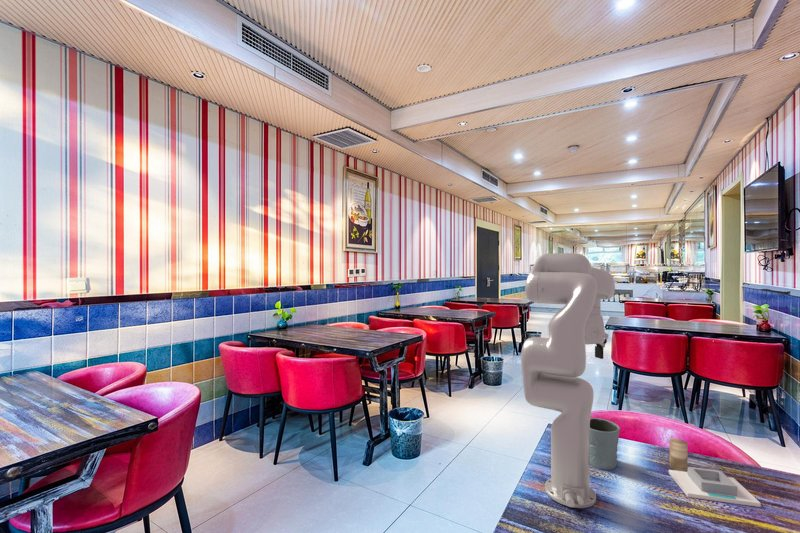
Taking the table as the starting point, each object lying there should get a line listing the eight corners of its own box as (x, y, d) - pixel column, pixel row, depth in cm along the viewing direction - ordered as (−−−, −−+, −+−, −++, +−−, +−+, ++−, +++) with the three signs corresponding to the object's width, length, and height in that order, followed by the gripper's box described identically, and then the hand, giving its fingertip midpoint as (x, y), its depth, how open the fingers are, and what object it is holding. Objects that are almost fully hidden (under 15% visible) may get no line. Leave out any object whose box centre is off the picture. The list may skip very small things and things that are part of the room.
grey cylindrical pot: (612, 456, 122) (612, 419, 122) (625, 473, 112) (625, 432, 112) (578, 453, 124) (578, 416, 124) (588, 469, 114) (588, 430, 114)
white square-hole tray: (760, 507, 96) (760, 493, 96) (687, 496, 100) (687, 483, 100) (733, 481, 108) (733, 468, 108) (668, 472, 112) (668, 461, 112)
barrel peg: (690, 472, 112) (690, 446, 112) (673, 470, 113) (673, 444, 113) (683, 465, 116) (683, 439, 116) (667, 463, 117) (667, 437, 117)
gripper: (577, 313, 128) (577, 363, 128) (616, 311, 134) (616, 359, 134) (561, 310, 135) (561, 358, 135) (598, 309, 141) (598, 354, 141)
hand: (588, 359), depth 134 cm, fingers open, 9 cm apart
